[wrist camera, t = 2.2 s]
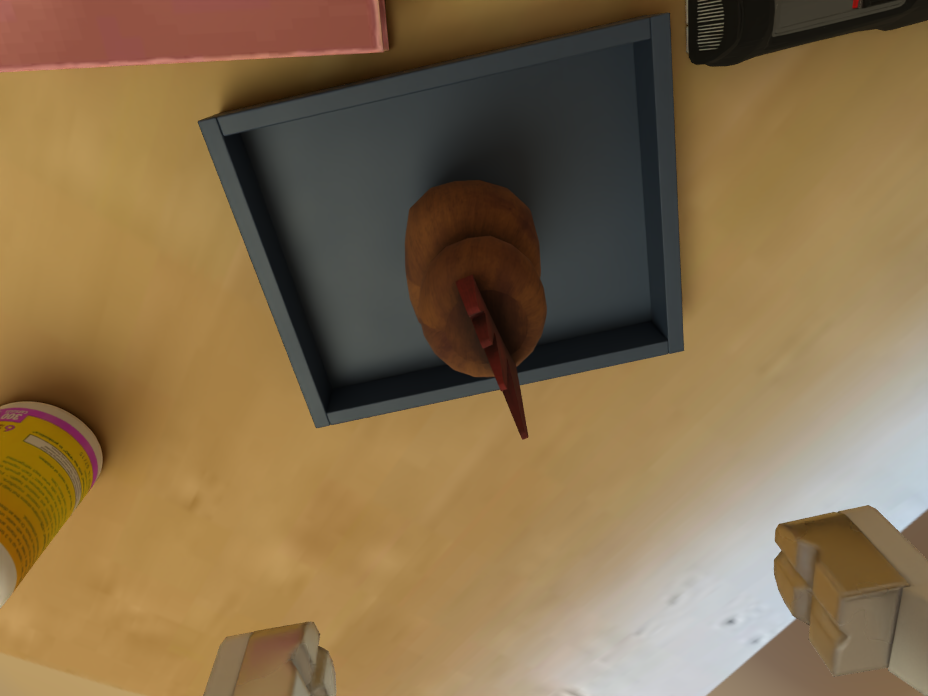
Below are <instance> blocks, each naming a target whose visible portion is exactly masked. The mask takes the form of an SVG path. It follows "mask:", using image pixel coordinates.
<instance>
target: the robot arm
mask: <svg viewBox="0 0 928 696" xmlns="http://www.w3.org/2000/svg"><path fill="white" fill-rule="evenodd" d="M775 542H776V543H777V545H778V546H779V547H780V549H781V550H782V551H781V552H780V553H779V554H778V556H777V557H776V558H775V559H774V575H775V579H776V583H777V586H778V590H779V592H780V594H781V596H782V598H783V600H784V602H785V604H786V606H787V607H788V609H789V610H790V612H791V613H792V615H793V616H794V617H796V618H797V619H799V620H801V621H803V622H804V623H806V624H808V625H810V630H809V641H810V642H811V644H812V645H813V647H814V648H815V650H816V651H817V653H818V654H819V656H820V657H821V659H822V660H823V661H824V663H825V664H826V666H827V667H828V669H829V670H830V672H831V673H832V675H833V676H834V677H835V676H840V675H846V674H852V673H858V672H864V671H870V670H876V669H881V668H888V667H889V668H888V671H890V672H891V673H893V674H894V675H895V676H897V677H899V678H900V679H901V680H903V681H904V682H906V683H907V684H909V685H910V686H912V687H913V688H915V689H916V690H918V691H919V692H920V693H922V694H923V695H925V696H928V560H927V559H926V558H925V557H924V556H923V555H922V554H921V553H920V552H919V551H918V550H917V549H916V548H915V547H914V546H913V545H912V544H911V543H910V542H909V541H908V540H907V539H906V538H905V537H904V536H903V535H902V534H901V533H900V532H899V531H898V530H897V529H896V528H895V527H894V526H893V525H892V524H891V523H890V522H889V521H888V520H887V519H886V518H885V517H884V516H883V515H882V514H881V513H880V512H879V511H878V510H877V509H875V508H873V507H871V506H869V505H867V506H862V507H857V508H853V509H848V510H843V511H838V512H837V513H836V512H832V513H827V514H823V515H818V516H814V517H809V518H804V519H800V520H795V521H791V522H786V523H782V524H779V525H778V527H777V528H776V530H775ZM319 638H320V633H319V631H318V629H317V627H316V625H315V624H314V622H304V623H299V624H293V625H287V626H282V627H276V628H271V629H265V630H259V631H254V632H250V633H245V634H239V635H234V636H229V637H226V638H225V640H224V641H223V642H222V644H221V645H220V647H219V649H218V652H217V655H216V658H215V661H214V665H213V668H212V671H211V674H210V677H209V680H208V683H207V686H206V689H205V692H204V695H203V696H336V678H335V670H334V666H333V662H332V659H331V657H330V654H329V652H328V651H327V650H325V649H324V648H322V647H320V646H318V644H319Z"/></svg>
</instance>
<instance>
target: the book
mask: <svg viewBox="0 0 928 696" xmlns="http://www.w3.org/2000/svg"><path fill="white" fill-rule="evenodd" d="M384 51H389V42H388V31H387V20H386V9H385V0H0V72H13V71H33V70H52V69H71V68H90V67H109V66H128V65H147V64H167V63H186V62H205V61H224V60H243V59H262V58H282V57H301V56H320V55H339V54H358V53H377V52H384Z"/></svg>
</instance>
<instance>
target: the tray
mask: <svg viewBox="0 0 928 696" xmlns="http://www.w3.org/2000/svg"><path fill="white" fill-rule="evenodd" d="M198 124H199V127H200V129H201V132H202V134H203V137H204V140H205V142H206V145H207V147H208V150H209V153H210V155H211V158H212V160H213V163H214V165H215V168H216V171H217V173H218V176H219V178H220V181H221V184H222V186H223V189H224V191H225V194H226V197H227V199H228V202H229V204H230V207H231V209H232V212H233V215H234V217H235V220H236V222H237V225H238V228H239V230H240V233H241V235H242V238H243V240H244V243H245V246H246V248H247V251H248V253H249V256H250V259H251V261H252V264H253V266H254V269H255V272H256V274H257V277H258V279H259V282H260V284H261V287H262V290H263V292H264V295H265V297H266V300H267V303H268V305H269V308H270V310H271V313H272V316H273V318H274V321H275V323H276V326H277V328H278V331H279V334H280V336H281V339H282V341H283V344H284V347H285V349H286V352H287V354H288V357H289V359H290V362H291V365H292V367H293V370H294V372H295V375H296V378H297V380H298V383H299V385H300V388H301V391H302V393H303V396H304V398H305V401H306V403H307V406H308V409H309V411H310V414H311V416H312V419H313V422H314V424H315V427H316V428H320V427H325V426H329V425H330V424H331V425H334V424H339V423H344V422H348V421H353V420H358V419H363V418H367V417H372V416H377V415H382V414H386V413H391V412H396V411H401V410H405V409H410V408H415V407H420V406H424V405H429V404H434V403H438V402H443V401H448V400H453V399H457V398H462V397H467V396H472V395H476V394H481V393H486V392H491V391H495V390H500V388H499V386H498V383H497V381H496V378H495V377H473V376H470V375H467V374H464V373H461V372H458V371H455V370H454V369H452V368H451V367H450V366H449V365H447V364H446V363H445V362H444V361H442V360H441V359H440V358H439V357H438V356H437V355H436V354H435V353H434V352H433V350H432V348H431V347H430V345H429V343H428V342H427V340H426V338H425V337H424V334H423V330H422V326H421V324H420V323H419V322H418V319H417V316H416V314H415V311H414V309H413V306H412V303H411V301H410V297H409V291H408V285H407V278H406V271H405V235H406V228H407V221H408V214H409V209H410V208H411V207H412V206H413V205H414V204H415V203H416V202H417V201H418V200H419V199H420V198H421V197H422V196H423V195H424V194H425V193H426V192H427V191H428V190H429V189H430V188H432V187H435V186H439V185H442V184H446V183H450V182H453V181H466V180H481V181H484V182H488V183H492V184H495V185H499V186H502V187H505V188H508V189H509V190H510V191H511V192H512V193H513V194H514V195H515V196H517V197H518V198H519V199H520V200H521V201H522V202H523V203H524V204H525V205H526V206H527V207H528V208H529V209H530V211H531V214H532V218H533V222H534V226H535V229H536V233H537V236H538V240H539V245H540V262H541V276H540V280H541V282H542V285H543V287H544V292H545V299H546V305H547V315H546V320H545V324H544V328H543V333H542V335H541V337H540V339H539V341H538V343H537V345H536V346H535V348H534V350H533V352H532V353H531V354H530V355H529V356H528V357H527V358H526V359H525V360H524V361H523V362H521V363H520V364H519V365H518V366H517V367H516V368H517V374H518V379H519V385H524V384H528V383H533V382H538V381H543V380H547V379H552V378H557V377H562V376H566V375H571V374H576V373H581V372H585V371H590V370H595V369H599V368H604V367H609V366H614V365H618V364H623V363H628V362H633V361H637V360H642V359H647V358H652V357H656V356H661V355H666V354H668V353H669V354H671V353H676V352H681V351H684V340H683V316H682V292H681V268H680V244H679V220H678V196H677V172H676V149H675V125H674V101H673V77H672V53H671V29H670V13H661V14H652V15H644V16H640V17H635V18H631V19H627V20H622V21H618V22H614V23H609V24H605V25H601V26H596V27H592V28H588V29H583V30H579V31H575V32H570V33H566V34H562V35H557V36H553V37H549V38H544V39H540V40H535V41H531V42H527V43H522V44H518V45H514V46H509V47H505V48H501V49H496V50H492V51H488V52H483V53H479V54H475V55H470V56H466V57H462V58H457V59H453V60H449V61H444V62H440V63H436V64H431V65H427V66H423V67H418V68H414V69H410V70H405V71H401V72H397V73H392V74H388V75H384V76H379V77H375V78H371V79H366V80H362V81H358V82H353V83H349V84H345V85H340V86H336V87H331V88H327V89H323V90H318V91H314V92H310V93H305V94H301V95H297V96H292V97H288V98H284V99H279V100H275V101H271V102H266V103H262V104H258V105H253V106H249V107H245V108H240V109H236V110H232V111H227V112H223V113H219V114H216V115H213V116H211V117H208V118H205V119H202V120H199V121H198Z"/></svg>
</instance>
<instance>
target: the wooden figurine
mask: <svg viewBox="0 0 928 696" xmlns="http://www.w3.org/2000/svg"><path fill="white" fill-rule="evenodd" d="M405 271H406V278H407V285H408V291H409V297H410V301H411V303H412V306H413V309H414V311H415V314H416V316H417V319H418V322H419V323H420V324H421V326H422V330H423V334H424V337H425V338H426V340H427V342H428V343H429V345H430V347H431V348H432V350H433V352H434V353H435V354H436V355H437V356H438V357H439V358H440V359H441V360H442V361H444V362H445V363H446V364H447V365H449V366H450V367H451V368H452V369H454V370H455V371H458V372H461V373H464V374H467V375H470V376H473V377H495V378H496V381H497V383H498V386H499V388H500V390H501V391H503V394H504V396H505V399H506V401H507V404H508V406H509V409H510V411H511V413H512V416H513V418H514V421H515V423H516V426H517V428H518V431H519V433H520V435H521V437H522V440H523V439H526V438H528V432H527V426H526V420H525V414H524V408H523V402H522V396H521V390H520V385H519V379H518V374H517V368H516V367H517V366H518V365H519V364H520V363H521V362H523V361H524V360H525V359H526V358H527V357H528V356H529V355H530V354H531V353H532V352H533V350H534V348H535V346H536V345H537V343H538V341H539V339H540V337H541V335H542V333H543V328H544V324H545V320H546V315H547V305H546V299H545V292H544V287H543V285H542V282H541V280H540V276H541V262H540V245H539V240H538V236H537V233H536V229H535V226H534V222H533V218H532V214H531V211H530V209H529V208H528V207H527V206H526V205H525V204H524V203H523V202H522V201H521V200H520V199H519V198H518V197H517V196H515V195H514V194H513V193H512V192H511V191H510V190H509V189H508V188H505V187H502V186H499V185H495V184H492V183H488V182H484V181H481V180H466V181H453V182H450V183H446V184H442V185H439V186H435V187H432V188H430V189H429V190H428V191H427V192H426V193H425V194H424V195H423V196H422V197H421V198H420V199H419V200H418V201H417V202H416V203H415V204H414V205H413V206H412V207H411V208H410V209H409V214H408V221H407V228H406V235H405Z"/></svg>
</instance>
